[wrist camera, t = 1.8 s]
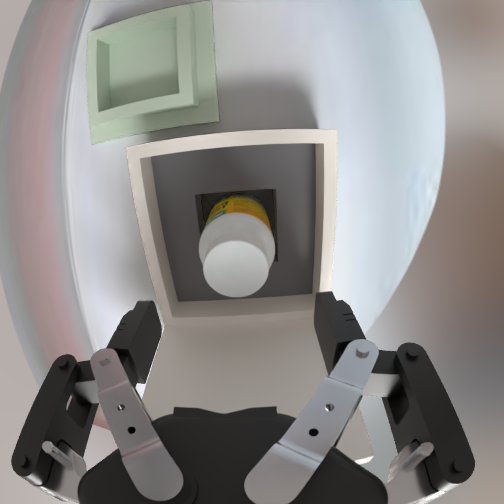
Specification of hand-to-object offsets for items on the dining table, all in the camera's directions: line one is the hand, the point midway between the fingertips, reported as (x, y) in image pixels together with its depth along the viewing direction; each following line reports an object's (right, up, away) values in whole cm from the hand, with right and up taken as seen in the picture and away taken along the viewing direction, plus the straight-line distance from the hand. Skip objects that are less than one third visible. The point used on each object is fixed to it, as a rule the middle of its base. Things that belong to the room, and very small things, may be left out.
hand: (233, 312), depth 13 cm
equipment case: (0, +6, +12) cm, 13 cm away
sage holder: (-8, +19, +5) cm, 21 cm away
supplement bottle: (0, +6, +12) cm, 14 cm away
